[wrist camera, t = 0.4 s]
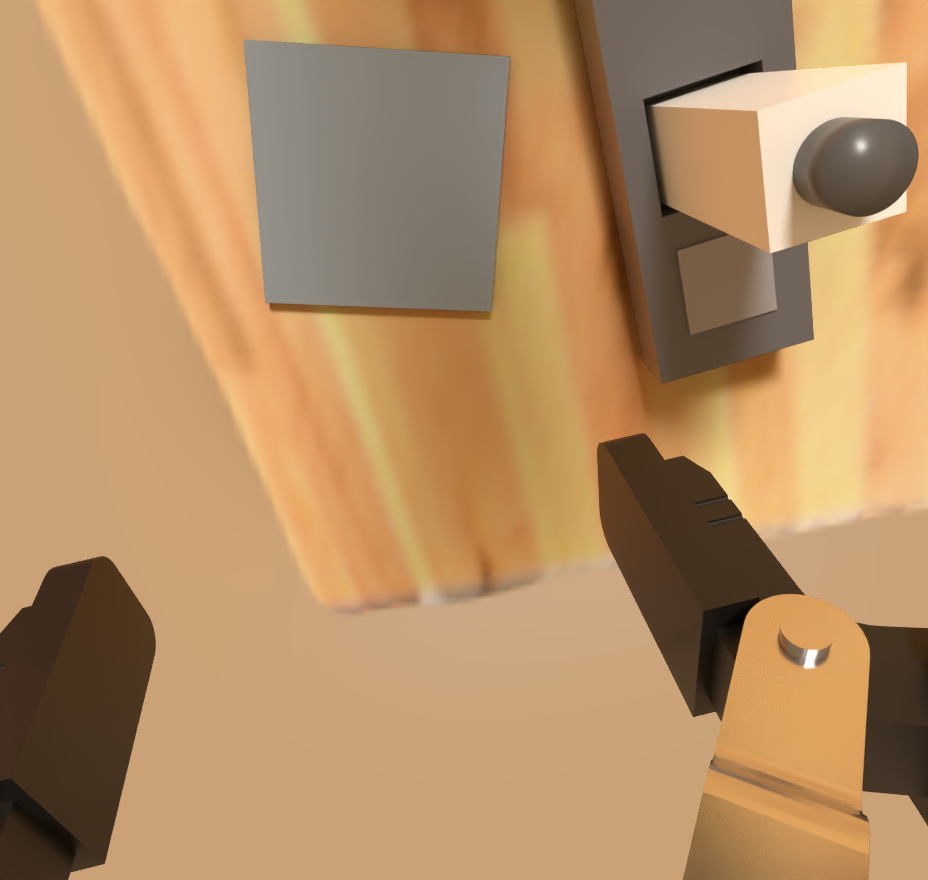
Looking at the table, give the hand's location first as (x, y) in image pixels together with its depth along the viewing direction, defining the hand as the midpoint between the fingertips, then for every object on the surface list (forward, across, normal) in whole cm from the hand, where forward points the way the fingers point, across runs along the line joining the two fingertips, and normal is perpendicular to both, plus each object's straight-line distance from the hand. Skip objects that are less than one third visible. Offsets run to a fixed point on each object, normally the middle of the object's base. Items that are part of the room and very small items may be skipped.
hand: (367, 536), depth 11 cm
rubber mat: (+27, -2, +2) cm, 27 cm away
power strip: (+25, -17, +2) cm, 30 cm away
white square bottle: (+24, -17, +2) cm, 30 cm away
